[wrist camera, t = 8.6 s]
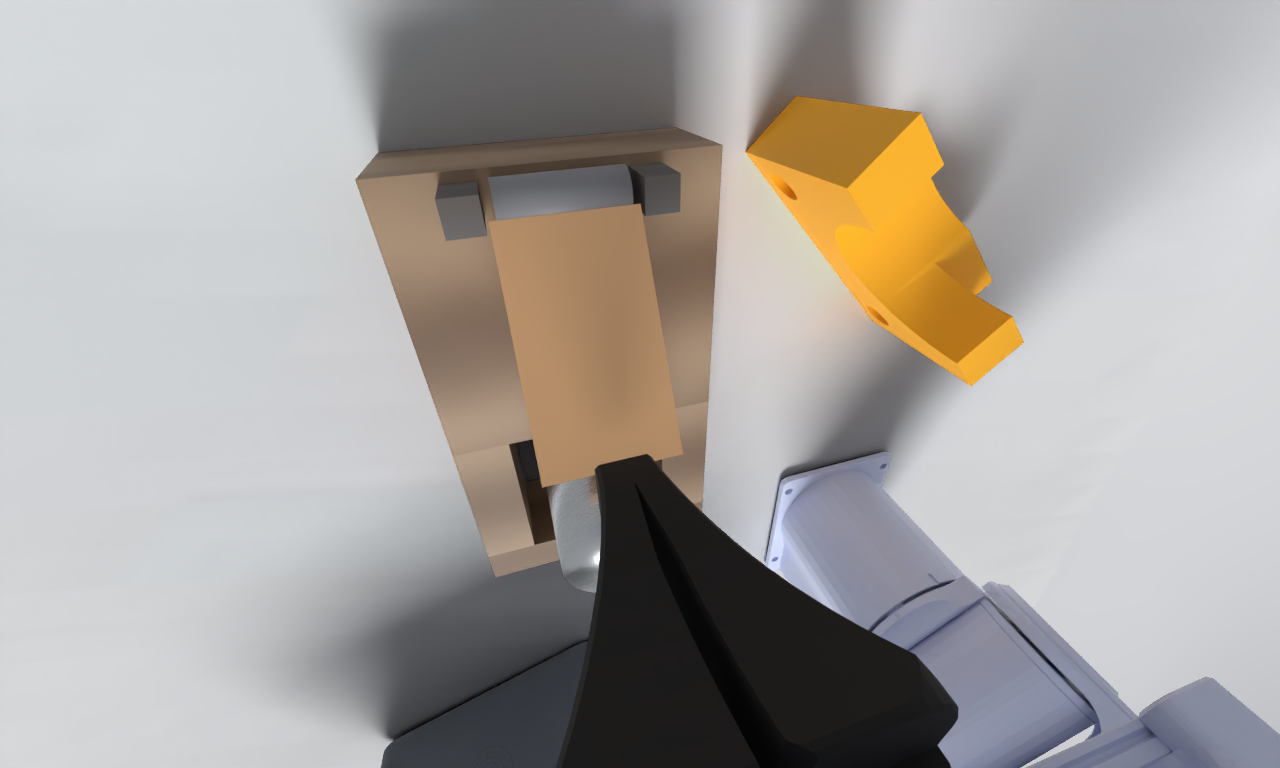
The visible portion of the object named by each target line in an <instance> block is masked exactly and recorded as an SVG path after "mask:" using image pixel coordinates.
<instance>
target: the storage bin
mask: <svg viewBox="0 0 1280 768" xmlns="http://www.w3.org/2000/svg"><path fill="white" fill-rule="evenodd" d="M587 643H588V641H587V642H582V643H579V644H577V645H575V646H573V647H571V648H569V649H567V650H565V651H563V652H561V653H559V654H558V655H556V656H554V657H552V658H550V659H548V660H546V661H544V662H542V663H541V664H539V665H537V666H535V667H533V668H531V669H529V670H527V671H525V672H523V673H522V674H520V675H518V676H516V677H514V678H512V679H510V680H508V681H506V682H504V683H503V684H501V685H499V686H497V687H495V688H493V689H491V690H489V691H487V692H485V693H483V694H481V695H479V696H477V697H476V698H474V699H472V700H470V701H468V702H466V703H464V704H462V705H460V706H459V707H457V708H455V709H453V710H451V711H449V712H447V713H445V714H443V715H441V716H439V717H437V718H435V719H433V720H431V721H430V722H428V723H426V724H424V725H422V726H420V727H418V728H416V729H414V730H412V731H410V732H409V733H407V734H405V735H403V736H401V737H399V738H397V739H396V740H394V741H393V742H392V743H391V744H389V745H388V747H387V748H386V749H385V751H384V754H383V760H382V765H381V768H556V765H557V761H558V758H559V755H560V751H561V748H562V744H563V741H564V738H565V734H566V731H567V727H568V724H569V720H570V716H571V712H572V708H573V704H574V700H575V696H576V692H577V688H578V684H579V680H580V676H581V672H582V667H583V663H584V658H585V653H586V648H587Z"/></svg>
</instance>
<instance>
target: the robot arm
mask: <svg viewBox="0 0 1280 768" xmlns="http://www.w3.org/2000/svg"><path fill="white" fill-rule="evenodd" d="M890 461H891V455H890V454H889V453H888V452H881V453H877V454H873V455H869V456H866V457H862V458H858V459H854V460H850V461H846V462H842V463H839V464H835V465H831V466H827V467H823V468H819V469H816V470H812V471H808V472H804V473H800V474H796V475H792V476H789V477H786V478H784V479H783V480H782V481H781V483H780V487H779V492H778V498H777V503H776V508H775V514H774V519H773V525H772V530H771V535H770V541H769V546H768V551H767V557H766V562H765V565H764V564H763V563H761V562H760V561H759V560H757V559H756V558H755V557H753V556H752V555H751V554H749V553H748V552H747V551H746V550H744V549H743V548H742V547H741V546H740V545H738V544H737V543H736V542H735V541H734V540H732V539H731V538H730V537H729V536H728V535H727V534H726V533H724V532H723V531H722V530H721V529H720V528H719V527H718V526H716V525H715V524H714V523H713V522H712V521H711V520H710V519H709V518H708V517H707V516H706V515H705V514H704V513H703V512H702V511H701V510H700V509H699V508H698V507H697V506H695V505H694V504H693V503H692V502H691V501H690V500H689V499H688V498H687V497H686V495H685V494H684V493H683V492H682V491H681V490H680V489H679V488H678V487H677V486H676V485H675V484H674V483H673V482H672V481H671V479H670V478H669V477H668V476H667V475H666V474H665V473H664V471H663V470H662V469H661V468H660V467H659V465H658V464H657V463H656V462H655V461H654V459H653V458H652V457H651V456H650V455H648V454H644V455H639V456H635V457H631V458H627V459H622V460H618V461H614V462H609V463H605V464H601V465H598V466H597V467H596V469H595V477H596V485H597V493H598V501H599V509H600V517H601V546H600V558H599V570H598V580H597V588H596V596H595V603H594V609H593V616H592V622H591V627H590V632H589V638H588V643H587V648H586V653H585V658H584V663H583V667H582V672H581V676H580V680H579V684H578V688H577V692H576V696H575V700H574V704H573V708H572V712H571V716H570V720H569V724H568V727H567V731H566V734H565V738H564V741H563V744H562V748H561V751H560V755H559V758H558V761H557V765H556V768H1020V767H1022V766H1024V765H1025V764H1027V763H1029V762H1030V761H1032V760H1034V759H1036V758H1037V757H1039V756H1041V755H1043V754H1044V753H1046V752H1048V751H1049V750H1051V749H1053V748H1054V747H1056V746H1058V745H1059V744H1061V743H1063V742H1065V741H1066V740H1068V739H1070V738H1071V737H1073V736H1075V735H1077V734H1078V733H1080V732H1082V731H1083V730H1085V729H1087V728H1088V727H1090V726H1092V725H1094V724H1095V726H1094V730H1093V732H1092V734H1091V735H1090V736H1089V737H1088V738H1087V739H1086V740H1085V741H1084V742H1082V743H1079V744H1077V745H1075V746H1073V747H1070V748H1068V749H1066V750H1064V751H1062V752H1059V753H1057V754H1055V755H1053V756H1051V757H1049V758H1046V759H1044V760H1042V761H1040V762H1037V763H1035V764H1033V765H1031V766H1029V767H1027V768H1280V734H1278V733H1277V732H1276V731H1275V730H1274V729H1272V728H1271V727H1270V726H1269V725H1268V724H1266V723H1265V722H1264V721H1263V720H1262V719H1261V718H1259V717H1258V716H1257V715H1256V714H1255V713H1253V712H1252V711H1251V710H1250V709H1249V708H1247V707H1246V706H1245V705H1244V704H1243V703H1242V702H1240V701H1239V700H1238V699H1237V698H1236V697H1234V696H1233V695H1232V694H1231V693H1230V692H1229V691H1227V690H1226V689H1225V688H1224V687H1223V686H1221V685H1220V684H1219V683H1217V681H1215V680H1214V679H1213V678H1209V677H1204V678H1202V679H1200V680H1198V681H1195V682H1193V683H1191V684H1188V685H1186V686H1184V687H1182V688H1180V689H1177V690H1175V691H1173V692H1171V693H1169V694H1167V695H1165V696H1163V697H1161V698H1160V699H1158V700H1156V701H1155V702H1153V703H1152V704H1150V705H1149V706H1148V707H1146V708H1145V709H1144V710H1143V711H1141V712H1140V714H1139V717H1138V716H1137V715H1136V714H1135V713H1134V712H1133V711H1132V710H1131V709H1130V708H1129V707H1127V705H1126V704H1125V703H1123V701H1122V700H1121V699H1120V698H1119V697H1118V692H1117V691H1116V690H1115V689H1114V688H1113V687H1111V685H1110V684H1109V683H1108V682H1107V681H1106V680H1105V679H1104V678H1103V677H1102V676H1100V675H1099V674H1098V673H1097V672H1096V671H1095V670H1094V669H1093V668H1092V667H1091V666H1090V665H1089V664H1088V663H1087V662H1086V661H1085V660H1084V659H1083V658H1082V657H1081V656H1080V655H1079V654H1078V653H1077V652H1076V651H1075V650H1074V649H1073V648H1072V647H1071V646H1070V645H1069V644H1068V643H1067V642H1066V641H1065V640H1064V639H1063V638H1062V637H1061V636H1060V635H1059V634H1058V633H1057V632H1056V631H1055V630H1054V629H1053V628H1052V627H1051V626H1050V625H1049V624H1048V623H1047V622H1046V621H1045V620H1044V619H1043V618H1042V617H1041V616H1040V615H1039V614H1037V613H1036V611H1035V610H1034V609H1033V608H1032V607H1031V606H1030V605H1029V604H1028V603H1027V602H1026V601H1024V600H1023V599H1022V598H1021V597H1020V596H1019V595H1018V594H1017V593H1016V592H1015V591H1014V590H1013V589H1012V588H1011V587H1010V586H1008V585H1003V584H998V585H997V584H996V583H994V582H988V583H987V584H985V585H984V586H983V587H982V588H983V589H984V590H985V592H986V593H987V594H988V595H989V596H990V597H991V598H992V599H991V598H990V597H989V596H988V595H987V594H986V593H985V592H984V591H983V590H982V589H980V588H979V587H978V586H977V585H976V584H975V583H973V582H972V581H971V580H970V579H969V578H967V577H966V576H965V575H964V574H963V573H962V572H961V571H960V570H959V569H958V568H957V567H956V566H955V565H954V564H953V562H952V561H951V560H950V559H949V558H948V557H947V556H946V555H945V554H944V553H943V552H942V551H941V550H940V549H939V548H938V547H937V546H936V545H935V543H934V542H933V541H932V540H931V539H930V538H929V537H928V536H927V535H926V534H925V533H924V532H923V531H922V530H921V529H920V528H919V527H918V526H917V525H916V523H915V522H914V521H913V520H912V519H911V518H910V517H909V516H908V515H907V514H906V513H905V512H904V511H903V510H902V509H901V508H900V507H899V506H898V504H897V503H896V502H895V501H894V500H893V499H892V498H891V497H890V496H889V495H888V494H887V493H886V492H885V491H884V490H883V489H882V488H881V486H882V483H883V481H884V478H885V475H886V472H887V469H888V467H889V464H890ZM778 569H780V570H781V572H782V573H783V575H784V577H785V578H786V580H787V581H786V580H785V579H783V578H782V577H780V576H779V575H778V574H776V573H775V572H773V571H775V570H778Z"/></svg>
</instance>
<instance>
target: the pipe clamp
mask: <svg viewBox="0 0 1280 768" xmlns="http://www.w3.org/2000/svg"><path fill="white" fill-rule="evenodd" d="M746 153H747V155H748V156H749V157H750V159H751V160H752V161H753V163H754V164H755V165H756V167H757V168H758V169H759V171H760V172H761V173H762V175H763V176H764V177H765V179H766V180H767V181H768V183H769V184H770V185H771V187H772V188H773V189H774V191H775V192H776V193H777V195H778V196H779V197H780V199H781V200H782V201H783V203H784V204H785V205H786V207H787V208H788V209H789V211H790V212H791V213H792V215H793V216H794V217H795V219H796V220H797V221H798V223H799V224H800V225H801V227H802V228H803V229H804V231H805V232H806V233H807V235H808V236H809V237H810V239H811V240H812V241H813V243H814V244H815V245H816V247H817V248H818V249H819V251H820V252H821V253H822V255H823V256H824V257H825V259H826V260H827V261H828V263H829V264H830V265H831V267H832V268H833V269H834V271H835V272H836V273H837V275H838V276H839V277H840V279H841V280H842V281H843V283H844V284H845V285H846V286H847V288H848V289H849V290H850V292H851V293H852V294H853V296H854V297H855V298H856V300H857V301H858V302H859V304H860V305H861V306H862V308H863V309H864V310H865V312H866V313H867V314H868V316H869V317H870V318H871V320H872V321H873V322H875V323H876V324H878V325H879V326H881V327H882V328H884V329H886V330H887V331H889V332H890V333H892V334H893V335H895V336H896V337H898V338H899V339H901V340H902V341H904V342H905V343H907V344H908V345H910V346H911V347H913V348H914V349H916V350H917V351H919V352H920V353H922V354H923V355H925V356H926V357H928V358H929V359H931V360H932V361H934V362H935V363H937V364H938V365H940V366H941V367H943V368H944V369H946V370H947V371H949V372H950V373H952V374H953V375H955V376H957V377H958V378H960V379H961V380H963V381H964V382H966V383H967V384H969V385H970V386H972V385H973V384H974V383H976V382H977V381H978V380H979V379H980V378H982V377H983V376H984V375H985V374H986V373H988V372H989V371H990V370H991V369H992V368H994V367H995V366H996V365H997V364H998V363H1000V362H1001V361H1002V360H1003V359H1004V358H1006V357H1007V356H1008V355H1009V354H1010V353H1012V352H1013V351H1014V350H1015V349H1016V348H1018V347H1019V346H1020V345H1021V344H1022V343H1024V341H1023V339H1022V337H1021V335H1020V333H1019V330H1018V328H1017V326H1016V324H1015V321H1014V319H1013V317H1012V316H1010V315H1008V314H1007V313H1005V312H1003V311H1001V310H999V309H997V308H995V307H994V306H992V305H990V304H989V303H987V302H985V301H984V300H982V299H981V298H979V297H978V296H976V295H977V294H978V293H979V292H981V291H982V290H983V289H984V288H985V287H986V286H987V285H988V284H990V283H991V282H992V279H991V277H990V274H989V272H988V270H987V268H986V266H985V263H984V261H983V259H982V257H981V255H980V252H979V250H978V248H977V246H976V244H975V241H974V239H973V237H972V235H971V233H970V230H968V229H967V228H966V227H965V226H964V225H963V223H962V222H961V221H960V220H959V219H958V218H957V217H956V216H955V215H954V214H953V212H952V211H951V210H950V209H949V207H948V206H947V205H946V203H945V202H944V200H943V199H942V197H941V196H940V194H939V192H938V191H937V189H936V187H935V185H934V183H933V181H932V178H931V177H932V176H933V175H934V174H935V173H936V172H937V171H938V170H939V169H940V168H942V167H943V166H944V163H943V161H942V158H941V156H940V154H939V152H938V149H937V147H936V145H935V143H934V141H933V138H932V136H931V134H930V132H929V129H928V127H927V125H926V123H925V120H924V118H923V116H922V114H921V113H918V112H911V111H904V110H896V109H889V108H881V107H874V106H867V105H859V104H852V103H845V102H837V101H830V100H822V99H815V98H808V97H800V96H795V98H794V99H793V100H792V101H791V102H790V103H789V104H788V105H787V106H786V108H785V109H784V110H783V111H782V112H781V113H780V114H779V115H778V116H777V118H776V119H775V120H774V121H773V122H772V123H771V124H770V125H769V126H768V128H767V129H766V130H765V131H764V132H763V133H762V134H761V135H760V136H759V137H758V139H757V140H756V141H755V142H754V143H753V144H752V145H751V146H750V147H749V149H748V150H747V151H746Z"/></svg>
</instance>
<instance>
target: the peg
mask: <svg viewBox="0 0 1280 768" xmlns="http://www.w3.org/2000/svg"><path fill="white" fill-rule="evenodd" d="M546 488H547V494H548V499H549V505H550V510H551V515H552V521H553V526H554V531H555V537H556V542H557V548H558V553H559V558H560V564H561V569H562V574H563V576H564V578H565V580H566V581H567V582H568V583H569V584H570V585H571V586H573V587H575V588H577V589H579V590H582V591H586V592H596V588H597V580H598V570H599V558H600V546H601V517H600V509H599V501H598V493H597V485H596V477H595V475H593V476H589V477H585V478H581V479H577V480H572V481H568V482H564V483H560V484H555V485H551V486H547V487H546Z"/></svg>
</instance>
